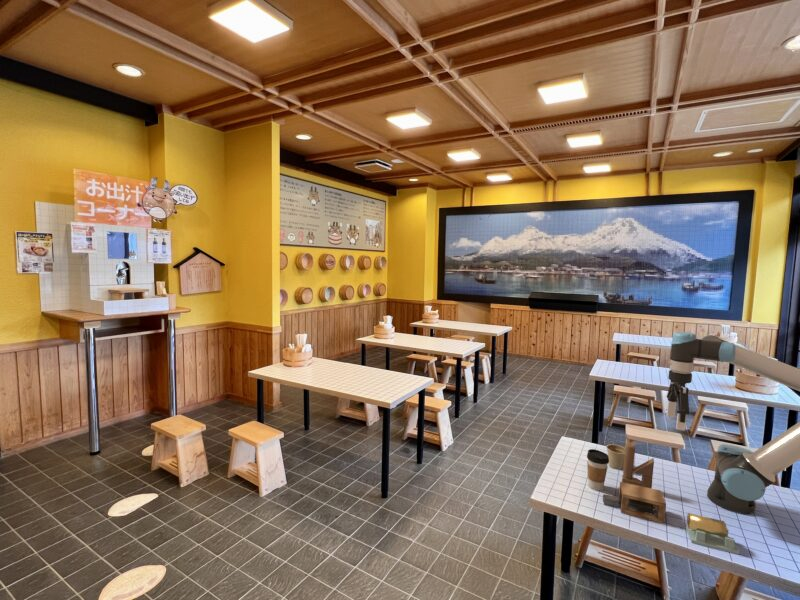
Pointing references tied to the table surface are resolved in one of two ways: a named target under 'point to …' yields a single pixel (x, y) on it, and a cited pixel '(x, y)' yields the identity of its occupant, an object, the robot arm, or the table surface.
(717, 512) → the table surface
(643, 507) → the drift bar
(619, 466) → the flower pot
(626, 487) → the box
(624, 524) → the table surface
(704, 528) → the gold metallic block
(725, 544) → the cradle
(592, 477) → the coffee cup
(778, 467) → the robot arm
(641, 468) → the wooden bracket
